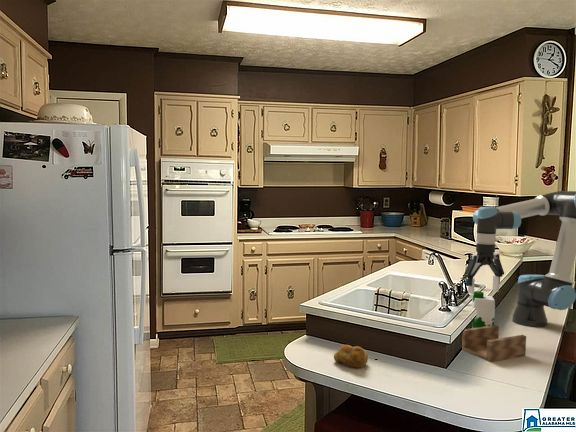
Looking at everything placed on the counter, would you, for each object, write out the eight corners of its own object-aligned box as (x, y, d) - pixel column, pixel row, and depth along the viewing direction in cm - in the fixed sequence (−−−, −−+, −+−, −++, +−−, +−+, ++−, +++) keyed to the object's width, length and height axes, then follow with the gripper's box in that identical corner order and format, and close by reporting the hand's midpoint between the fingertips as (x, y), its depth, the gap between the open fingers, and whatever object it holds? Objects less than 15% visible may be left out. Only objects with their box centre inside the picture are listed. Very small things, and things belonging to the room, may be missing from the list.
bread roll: (329, 364, 184) (329, 343, 183) (342, 356, 192) (342, 336, 191) (360, 372, 177) (360, 350, 176) (372, 364, 185) (372, 342, 184)
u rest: (494, 343, 209) (495, 324, 208) (525, 355, 194) (526, 336, 194) (460, 348, 202) (461, 329, 201) (489, 361, 187) (490, 341, 187)
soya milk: (469, 334, 220) (471, 289, 219) (491, 335, 219) (493, 290, 217) (472, 340, 212) (474, 294, 210) (495, 342, 210) (497, 295, 208)
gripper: (501, 241, 220) (498, 288, 222) (456, 243, 211) (454, 292, 212) (514, 243, 213) (512, 292, 215) (469, 245, 204) (466, 296, 205)
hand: (483, 292), depth 213 cm, fingers open, 13 cm apart
